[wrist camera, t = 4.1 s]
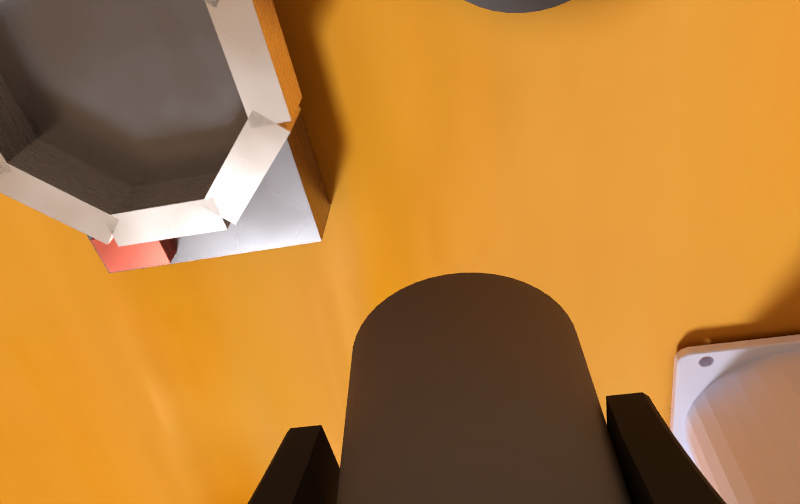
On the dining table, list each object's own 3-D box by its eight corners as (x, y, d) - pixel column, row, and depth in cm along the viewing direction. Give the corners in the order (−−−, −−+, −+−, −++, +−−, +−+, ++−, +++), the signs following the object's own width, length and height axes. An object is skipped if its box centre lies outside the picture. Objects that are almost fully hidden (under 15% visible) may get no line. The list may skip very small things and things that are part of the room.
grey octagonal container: (243, -175, 14) (195, -174, 11) (352, 202, 20) (339, 267, 17) (-74, -92, 15) (-190, -71, 13) (114, 240, 21) (64, 306, 18)
